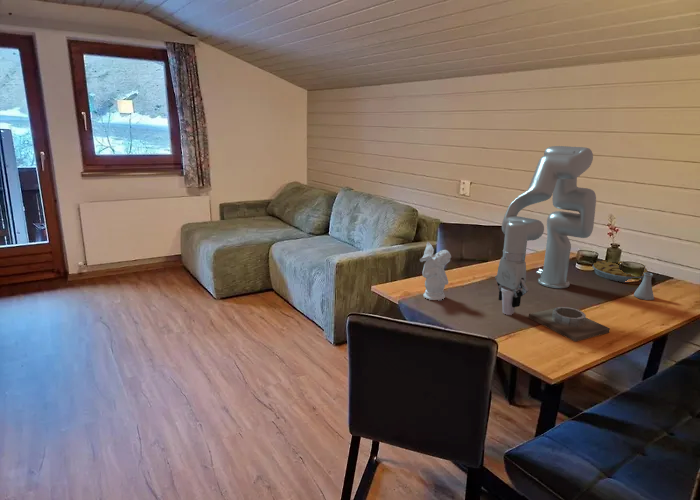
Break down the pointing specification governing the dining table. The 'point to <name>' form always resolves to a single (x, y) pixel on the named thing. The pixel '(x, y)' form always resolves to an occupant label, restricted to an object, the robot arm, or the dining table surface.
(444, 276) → the cherub figurine
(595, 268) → the pie
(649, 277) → the flask
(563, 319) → the collar
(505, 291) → the smoothie
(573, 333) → the board
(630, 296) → the dining table surface
